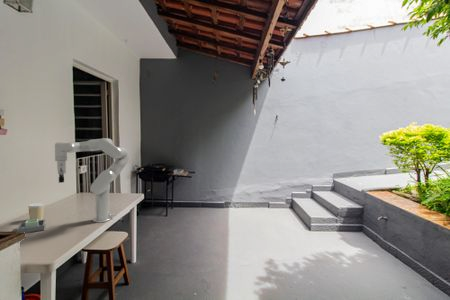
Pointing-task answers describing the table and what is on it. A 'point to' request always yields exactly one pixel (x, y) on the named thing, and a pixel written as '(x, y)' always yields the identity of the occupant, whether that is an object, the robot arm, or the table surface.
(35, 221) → the box
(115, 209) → the table surface
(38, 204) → the coffee cup
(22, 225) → the large crate
